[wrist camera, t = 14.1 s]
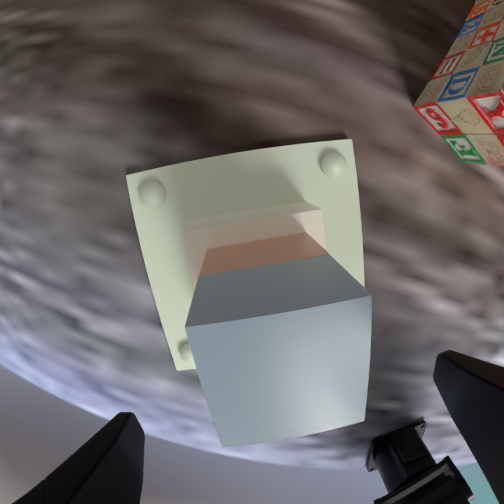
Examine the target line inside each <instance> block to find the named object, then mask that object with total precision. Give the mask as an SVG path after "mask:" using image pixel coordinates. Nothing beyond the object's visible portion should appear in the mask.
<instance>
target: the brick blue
mask: <svg viewBox="0 0 504 504" xmlns="http://www.w3.org/2000/svg"><path fill="white" fill-rule="evenodd" d="M371 327H372V295H371V294H370V293H369V292H368V291H367V290H366V289H365V288H364V287H363V286H362V285H361V284H360V283H359V282H358V281H357V280H356V279H355V278H354V277H353V276H352V275H351V274H350V273H349V272H348V271H347V270H346V269H344V268H343V267H342V266H341V265H340V264H339V263H338V262H337V261H336V260H335V259H334V258H333V257H332V256H331V255H330V254H329V255H323V256H317V257H311V258H305V259H299V260H293V261H287V262H280V263H274V264H268V265H262V266H255V267H249V268H243V269H236V270H230V271H223V272H217V273H210V274H204V275H199V276H198V280H197V283H196V287H195V291H194V294H193V298H192V302H191V305H190V309H189V313H188V316H187V320H186V324H185V330H186V334H187V338H188V341H189V345H190V348H191V352H192V355H193V359H194V362H195V366H196V369H197V372H198V376H199V379H200V382H201V385H202V389H203V392H204V395H205V398H206V401H207V404H208V407H209V410H210V413H211V416H212V419H213V422H214V425H215V428H216V431H217V434H218V437H219V439H220V442H221V445H222V447H233V446H242V445H250V444H258V443H265V442H272V441H278V440H284V439H289V438H295V437H300V436H305V435H310V434H315V433H319V432H324V431H328V430H332V429H336V428H340V427H344V426H348V425H352V424H355V423H359V422H362V421H364V418H365V410H366V401H367V391H368V379H369V366H370V350H371Z"/></svg>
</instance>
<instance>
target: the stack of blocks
mask: <svg viewBox="0 0 504 504" xmlns="http://www.w3.org/2000/svg"><path fill="white" fill-rule="evenodd" d="M413 108H414V109H415V110H416V111H417V112H418V113H419V114H420V115H421V116H422V117H423V118H424V119H425V120H426V121H427V122H428V123H429V124H430V125H431V126H432V128H433V129H434V130H435V131H436V132H437V133H438V134H439V135H440V136H441V137H442V138H443V139H444V140H445V141H446V143H447V144H448V145H449V146H450V147H451V148H452V150H453V151H454V152H455V153H456V154H457V156H458V157H459V158H460V159H461V161H462V162H465V163H473V164H483V165H487V164H490V165H498V166H504V0H477V1H476V2H475V4H474V7H473V8H472V10H471V11H470V13H469V15H468V17H467V18H466V22H465V24H464V25H463V27H462V29H461V31H460V32H459V34H458V36H457V38H456V40H455V42H454V43H453V45H452V47H451V48H450V50H449V52H448V54H447V55H446V57H445V58H444V59H443V60H442V62H441V63H440V65H439V67H438V68H437V70H436V72H435V73H434V75H433V76H432V78H431V80H430V81H429V83H428V84H427V85H426V87H425V88H424V90H423V92H422V93H421V95H420V96H419V98H418V99H417V101H416V103H415V104H414V106H413Z"/></svg>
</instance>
